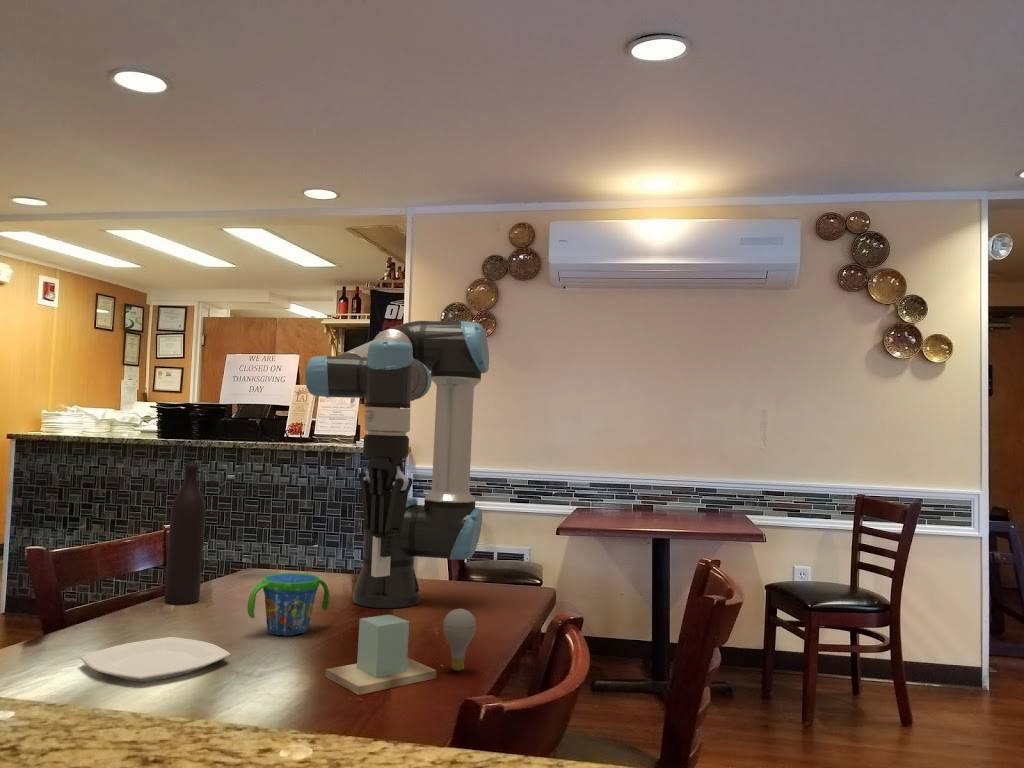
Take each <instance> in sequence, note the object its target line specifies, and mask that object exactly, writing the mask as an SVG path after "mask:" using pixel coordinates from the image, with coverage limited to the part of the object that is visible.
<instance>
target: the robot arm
mask: <svg viewBox="0 0 1024 768" xmlns="http://www.w3.org/2000/svg"><path fill="white" fill-rule="evenodd" d="M487 338H488V337H487V335H486V331H485V329H484V327H483V325H482V324H480V323H479V322H476V321H475V322H474V321H473V322H472V321H465V320H458V321H457V320H451V321H449V320H443V321H442V320H440V321H438V320H416V321H414V320H413V321H410V322H405V323H401V324H399V325H394V326H391V327H389V328H387V329H384V330H382V331H380V332H379V333H378V334H377V335H376V336H375V337H374V338H373V340H370V341H369V342H365V343H364V344H362V345H359V346H356V347H354V348H352V349H350V350H348V351H345V352H343V353H341V354H337V355H326V354H325V355H318V356H317V355H315V356H312V357H311V358H309V360H308V362H307V363H306V367H305V370H304V381H305V387H306V390H307V391H308V393H309V394H310V395H312V396H314V397H324V398H327V399H329V398H347V399H348V398H351V399H352V398H353V399H356V398H357V399H365V404H364V405H365V406H364V407H365V410H364V411H365V413H364V430H365V431H366V432H367V434H365V435H364V436H363V448H362V450H363V451H362V454H363V456H364V457H367V458H369V459H368V462H367V469H366V471H363V472H359V473H358V479H359V483H360V487H361V500H362V501H361V502H362V510H363V524H364V525H363V526H364V527H363V546H362V547H363V550H362V564H361V565H362V567H361V570H360V573H359V575H358V578H357V579H356V584H355V586H354V589H353V592H352V602H353V603H354V604H356V605H358V606H359V605H360V606H362V607H367V608H378V609H398V608H406V607H411V606H415V605H417V604H419V603H420V598H421V592H420V588H419V584H418V579H417V576H416V571H415V567H414V566H415V564H414V563H415V557H416V558H418V557H419V558H430V559H431V558H433V559H448V560H449V561H453V560H468V559H470V558H471V557H473V555H474V554H475V551H476V550H477V548H478V543H479V540H480V536H481V531H482V524H483V510H482V509H481V508H479V507H476V498H475V497H474V496H473V495H472V494H471V492H470V483H471V480H470V479H471V462H472V457H471V456H472V440H473V439H472V438H473V437H472V436H473V417H474V399H475V398H474V395H475V388H476V386H477V385H479V383H480V382H482V381H481V380H482V374H485V373H487V372H488V371H489V369H490V366H489V365H490V350H489V344H488V339H487ZM432 382H433V383H434V384H435V386H436V394H435V413H434V414H435V417H434V418H435V419H434V435H433V453H432V454H433V457H432V459H433V461H432V473H431V474H432V477H431V491H430V492H429V493H428V494H427V495H426V496H425V497H424V502H423V503H424V505H423V504H422V505H421V504H419V502H418V500H417V498H414V497H413V498H410V497H409V491H411V487H412V485H413V482H414V481H413V479H412V478H411V477H406V475H405V474H404V471H405V470H404V465H403V459H405V458H407V457H409V450H410V447H409V446H410V437H409V435H407V433H409V432H410V430H411V402H413V401H415V400H419V399H422V398H423V397H424V396H426V395H427V393H429V391H430V389H431V386H432ZM408 497H409V498H408Z"/></svg>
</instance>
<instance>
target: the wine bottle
mask: <svg viewBox="0 0 1024 768" xmlns="http://www.w3.org/2000/svg"><path fill="white" fill-rule="evenodd" d="M199 469H200V465H199V463H198V462H185V464H184V468H183V470H184V480H183V485H182V486H181V488H180V490H179V491H178V492H177V494H176V496H175V498H174V500H173V502H172V504H171V507H170V508H171V510H170V516H169V517H170V518H169V527H168V529H169V531H168V541H167V543H168V545H167V554H166V555H167V559H166V570H165V571H166V572H165V581H164V583H165V585H164V596H163V600H164V603H166V604H170V605H176V606H177V605H178V606H179V605H189V604H190V605H191V604H194V603H196V602H199V600H200V596H201V594H200V593H201V581H202V570H203V569H202V568H203V555H204V541H205V526H206V502H205V499H204V497H203V495H202V493H201V491H200V488H199V485H198V471H199Z"/></svg>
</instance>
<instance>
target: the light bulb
mask: <svg viewBox="0 0 1024 768" xmlns="http://www.w3.org/2000/svg"><path fill="white" fill-rule="evenodd" d="M442 630H443V631H442V632H443V635H444V637H445V638H446V640H447V642H448V643H447V644H449V647H450V651H451V654H450V657H451V666H450V667H451V669H452V670H453V671H455V672H457V673H458V672H461V670H464V669H465V657H466V650H467V648H468V646H469V644H470V643H471V641H472V639H473V638H474V636H475V635H476V634H475V633H476V630H477V621H476V618H475V616H474V615H473V614H472V613H471V611H469V610H466V609H465V608H456V609H452V610H451V611H449V612H447V614H446V616H445V617H444V619H443V623H442Z"/></svg>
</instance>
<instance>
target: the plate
mask: <svg viewBox="0 0 1024 768" xmlns="http://www.w3.org/2000/svg"><path fill="white" fill-rule="evenodd" d="M228 657H231V653H230V652H228V651H227V650H226V649H224V648H222V647H220V646H218V645H216V644H213V643H210V642H207V641H202V640H198V639H197V640H196V639H190V638H182V637H175V636H174V637H173V636H169V637H161V638H153V639H146V640H145V639H144V640H140V641H133V642H128V643H122V644H118V645H114V646H111V647H108V648H104V649H100V650H97V651H95V652H91V653H89V654H86V655H83V656H81V657H80V660H81V661H82V662H83V663H84V664H85V665H87V666H88V667H89V668H90V669H92V670H94V671H97V672H99V673H101V674H102V673H103V674H106V675H110V676H113V677H115V678H119V679H123V680H127V681H132V682H133V681H134V682H142V683H146V682H147V683H148V682H153V681H159V680H164V679H169V678H174V677H179V676H183V674H184V675H188V674H191V673H194V672H196V671H198V669H199V670H201V668H202V669H204V668H206V667H209V666H210V664H211V665H212V663H213V664H214V663H216V662H219V661H221V660H224V659H225V658H228ZM208 665H209V666H208ZM203 667H204V668H203ZM195 670H196V671H195ZM193 671H194V672H193ZM190 672H191V673H190Z"/></svg>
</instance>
